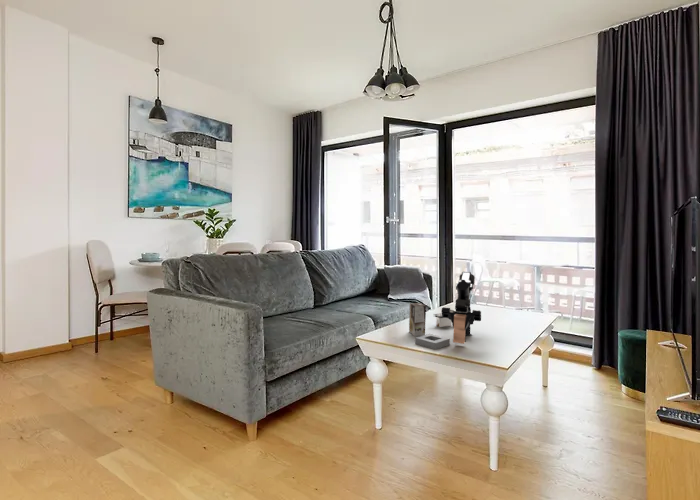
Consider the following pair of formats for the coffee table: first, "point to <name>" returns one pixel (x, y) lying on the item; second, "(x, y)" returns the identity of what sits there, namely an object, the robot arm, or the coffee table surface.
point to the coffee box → (417, 319)
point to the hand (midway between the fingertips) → (459, 328)
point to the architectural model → (442, 320)
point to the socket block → (432, 341)
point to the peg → (459, 328)
